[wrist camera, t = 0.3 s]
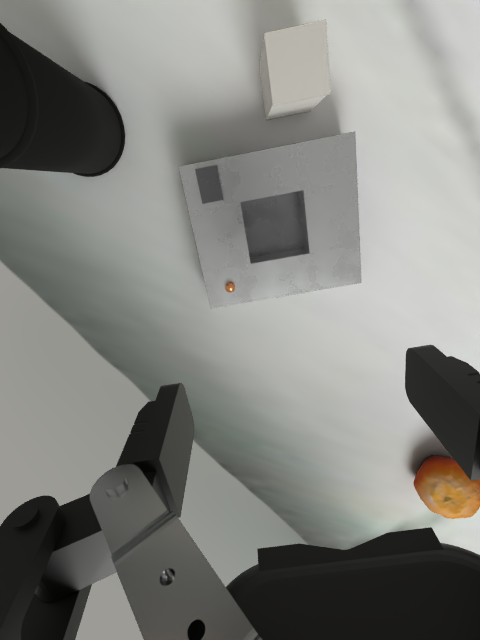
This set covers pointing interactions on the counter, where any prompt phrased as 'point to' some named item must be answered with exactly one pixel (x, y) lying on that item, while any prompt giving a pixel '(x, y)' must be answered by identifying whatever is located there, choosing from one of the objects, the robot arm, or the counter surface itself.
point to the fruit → (447, 488)
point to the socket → (276, 220)
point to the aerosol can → (53, 116)
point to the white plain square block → (294, 69)
